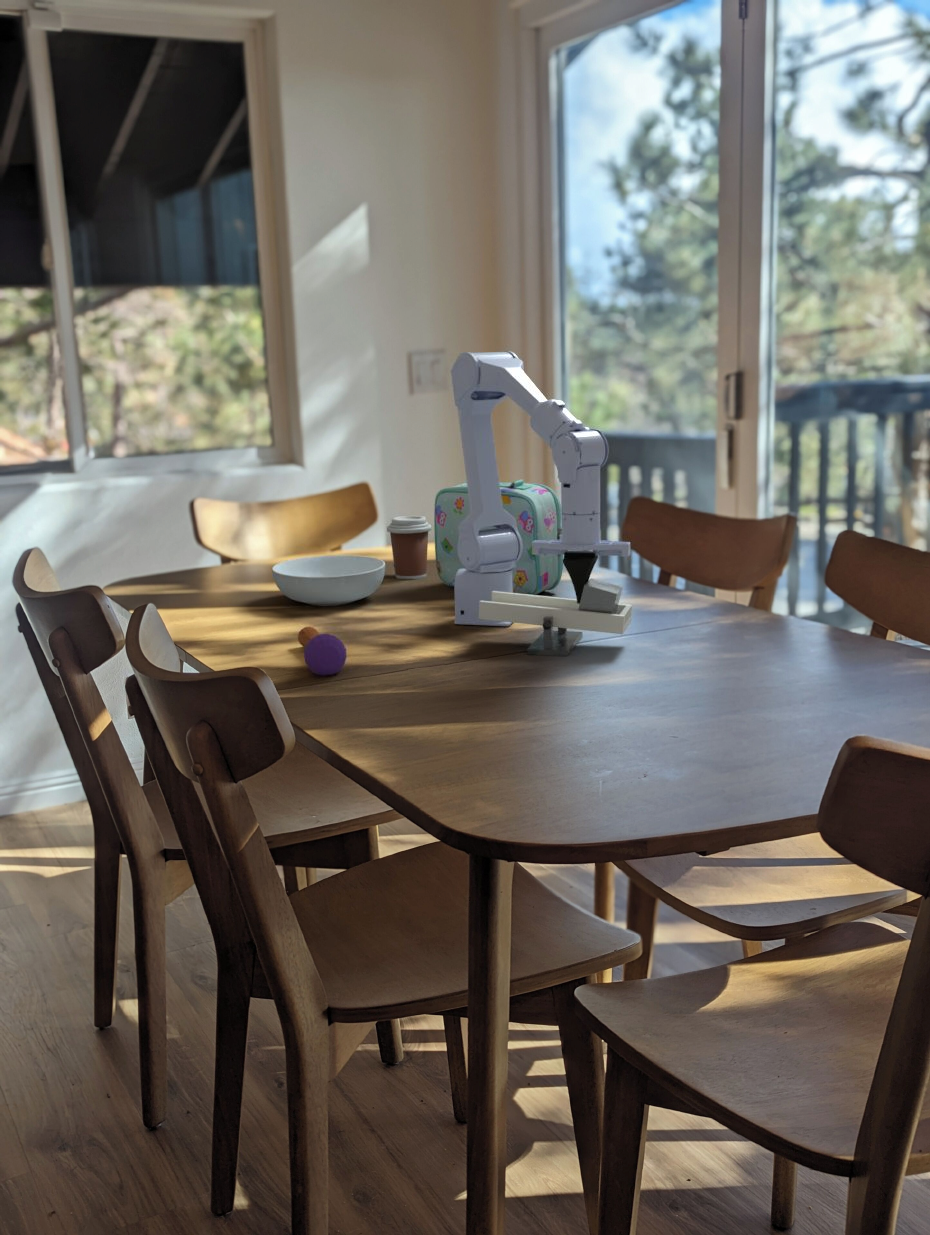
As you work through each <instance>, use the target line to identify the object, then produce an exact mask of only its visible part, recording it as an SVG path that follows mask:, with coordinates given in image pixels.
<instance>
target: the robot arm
mask: <svg viewBox="0 0 930 1235" xmlns="http://www.w3.org/2000/svg"><path fill="white" fill-rule="evenodd" d="M524 368H525V366H524V361H523V360H522V359H520V358H519V357H518V356H517V355H516V353H515V352H513V351H510V350H506V351H496V352H491V351H489V352H488V351H487V352H469V351H464V352H460V354H458V356H457V357H456V359H455V361H454V364H453V365H452V367H451V370H450V374H451V382H452V383H451V384H452V390H453V399H454V405H455V406H456V408H457V415H458V416H457V417H458V423H459V430H460V439H461V440H460V441H461V446H462V447H461V448H462V455H463V463H464V469H465V477H466V478H465V479H466V482H467V487H468V495H469V503H470V510H471V512H470V514H469V515H468V516H467V517H466V518H465V519H464V520H463V521H462V522H461V523H460V525H459V526H458V530H459V540H458V546H457V551H458V556H459V559H460V561H461V563H462V564H463V565H464V567H465V569H459V570H458V571H457V573H456V577H455V585H454V586H453V588H454V589H453V590H454V617H455V618H454V622H453V624H455V625H467V626H468V625H469V626H470V625H471V626H495V627H509V626H511V625H512V624H513V622H504V621H494V620H485V619H479V601H481V600H482V601H492V591H499V592H509V593H513V587H512V568H515V567H516V562H517V561H518V560H519V559H520V557H521V554H522V549H523V544H522V539H521V536H520V534H519V532H518V530H517V525H516V519H515V518H514V517H513V516H512V515H510V514H509V513H508V512H506V511H505V510H504V509H503V507H502V500H501V492H500V484H499V482H500V478H499V468H498V462H497V454H496V445H495V437H494V429H493V421H492V412H493V410H494V409H495V407H496V406H498V405H499V404H501V403H502V402H503V401H504V400H505V399H507V397H508V398H509V399H510V400H512V401H513V402H514V403H515V404H516V405H517V407H519V408H521V410H523V411H524V412H525V413H526V414H527V415H528V416H530V419H529V425H530V428H531V429H532V430H533V431H534V433H536V435H538V436H539V437H540V439H541V440H542V441H543V442H544V443H545V444H546V445H547V446H548V447H549V448H550V450H551V456H552V460H553V463H554V465H555V467H556V469H557V470H556V471H557V479H558V481H559V483H561V485H560V486H561V487H560V494H561V496H560V497H561V498H560V500H561V501H560V504H561V529H562V540H535V541H533V542H532V555H539V554H563V567H565V570H566V572H567V574H568V575H569V577H570V580H571V583H572V587H573V589H574V593H575V596H576V597H575V598H576V599H577V604H580V601H581V597H582V593H583V589H584V585H585V584H586V583H587V582H588V581H589V580H590V579H591V574H592V572H593V570H594V567H595V566H596V563H597V560H598V558H599V556H605V557H606V556H610V557H612V556H615V557H616V556H617V557H622V558H628V557H630V556H631V542H630V541H615V540H603V539H601V468H602V467H603V466H604V465H605V464H606V462H607V460H608V459H609V454H610V453H609V449H610V448H609V443H608V439H607V437H606V436H605V435H604V433H603V432H602V430H601V429H598V428H589V427H588V426H584V424H583V422H582V421H581V420H580V419H578V418H576V416H574V415H573V414H572V413H571V412H570V411H569V409H568V408H566V404H565V402H564V401H562V400H561V399H560V400H559V399H558V400H557V399H555V398H553V399H552V398H551V399H547V398H546V397H545V395H544V394H543V393H542V392H541V391H540V389H539V388H538V387H537V386H536V384H535V383H534V382H533V381H532V380H531V379H530V377H529V376H528V375H527V374H526V372H525V369H524ZM487 526H494V527H495V528H496V529H489V530H481V531H479V530H480V529H481V528H483V527H487Z"/></svg>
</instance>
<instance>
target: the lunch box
mask: <svg viewBox="0 0 930 1235" xmlns="http://www.w3.org/2000/svg"><path fill="white" fill-rule="evenodd" d="M499 484H500V492H501V500H502V507H503V509H504V510H505V511H506V512H508V513H509V514H510V515H512V516H513V517H514V518H515V519H516V525H517V530H518V532H519V534H520V536H521V539H522V544H523V549H522V554H521V557H520V559H519V560H518V561H517V562H516V567H515V568H512V587H513V593H519V594H529V595H538V594H540V593H542V592H545V591H550V590H551V591H552V590H554V589H556V588H557V587H558V586H559V584H560V582H561V579H562V575H563V569H564V564H563V559H564V555H563V554H539V555H532V542H533V541H535V540H562V520H561V513H562V512H561V501H560V499H559V497H558V495H557V494H556V492H555V491H554V490H553V489H552V488H551V487H549V486H547V485H545V484H540V483H534V482H533V483H531V482H524V479H522V478H521V479H519V480H517V481H513V482H501V481H499ZM433 511H434V513H433V514H434V517H433V519H434V522H433V523H434V531H433V532H434V554H435V555H434V557H435V567H436V571H437V575H438V577H439V579H440V580H441V581H442V583H444V584H445V585H446V586H448V587H449V586H450V587H454V585H455V577H456V573H457V571H458V570H459V569H465V567H464V565H463V564H462V563H461V561H460V559H459V556H458V551H457V546H458V540H459V530H458V526H459V525H460V523H461V522H462V521H463V520H464V519H465V518H466V517H467V516H468V515H469V514H470V512H471V510H470V503H469V495H468V487H467V481H466V482H463V483H461V484H458V485H455V486H449V487H444V488H442V489H440V490H439V491H437V493H436V495H435V499H434V509H433ZM489 529H496V528H495V527H494V526H487V527H483V528H481V529H480V530H479V531H481V530H489Z"/></svg>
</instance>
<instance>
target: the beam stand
mask: <svg viewBox="0 0 930 1235" xmlns="http://www.w3.org/2000/svg"><path fill="white" fill-rule="evenodd" d="M542 629H543V632H542V633H541V634H540V635H539V636H538V637H537V638H536V639H535V640H533V642H532V643H531V644H530V645H529V647H528V648H527V650H526V651H527V652H526V654H527V655H537V656H557V657H559V656H560V657H568V656H569V655H570V653H571V652H572V651H573V649H574V648H575V647H576V645H577V644H578V643H579V642H580V640H581V639H582V638H583V631H571V630H567V629H568V628H559V627H557V630H554V627H553V617H544V618H543V626H542Z"/></svg>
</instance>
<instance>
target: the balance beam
mask: <svg viewBox="0 0 930 1235" xmlns="http://www.w3.org/2000/svg"><path fill="white" fill-rule="evenodd" d="M579 605H580V604H577V598H576V599H575V598H569V597H568V598H567V597H557V596H556V597H555V596H549V595H538V594H536V595H529V594H519V593H509V592H499V591H492V601H482V600H481V601H479V619H485V620H494V621H504V622H513V623H515V624H522V625H534V626H540V627H541V626H542V627H543V618H544V617H553V628H558V627H559V628H567V629H571V630H580V631H590V632H598V633H608V634H615V635H624V633H625V632H626V631H627V629H628V628H629V626H630V624H631V623H632V614H633V612H632V611H633V604H626V603H619V604H618V607H617V611H616V614H607V613H598V612H588V611H578V609H579ZM513 623H512V624H513Z"/></svg>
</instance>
